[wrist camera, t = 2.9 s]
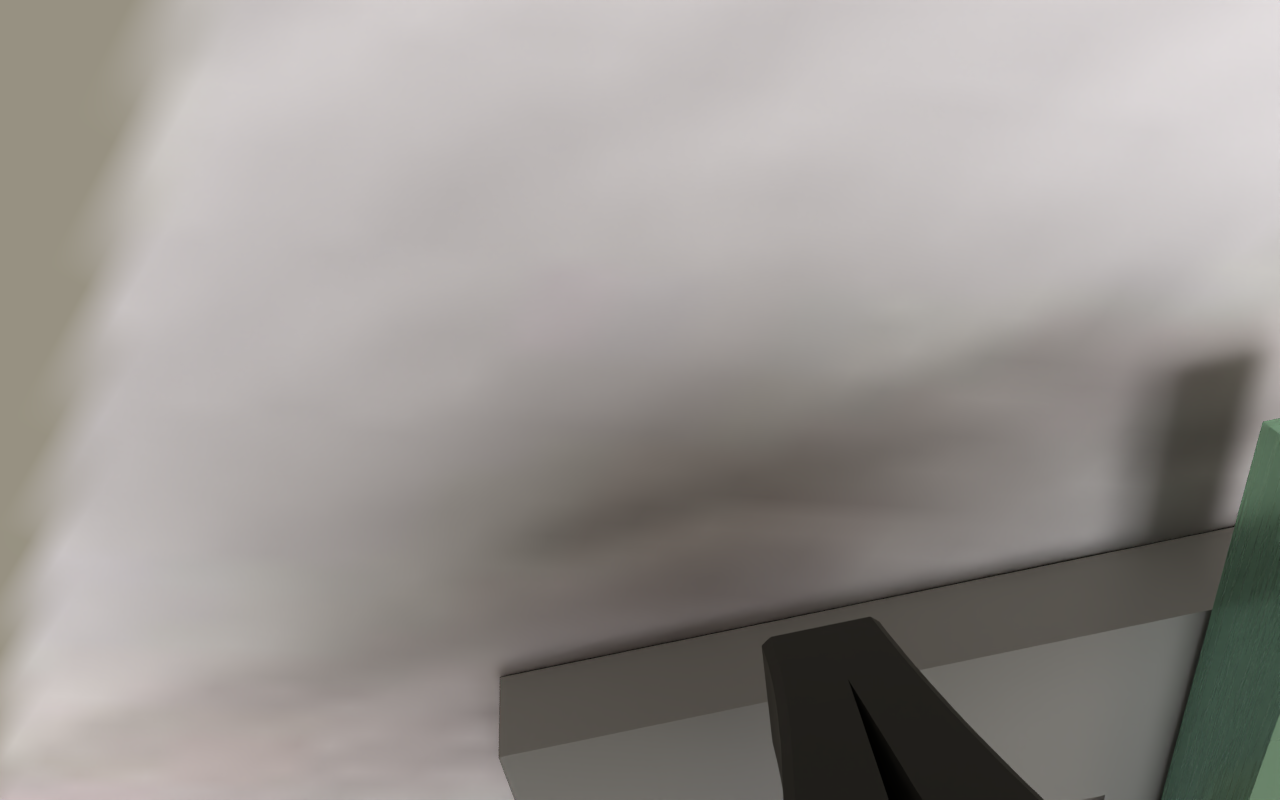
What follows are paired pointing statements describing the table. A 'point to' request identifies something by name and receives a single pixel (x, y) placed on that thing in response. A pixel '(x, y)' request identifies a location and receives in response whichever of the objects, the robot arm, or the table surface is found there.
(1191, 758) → the bar
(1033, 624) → the collar block
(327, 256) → the table surface
